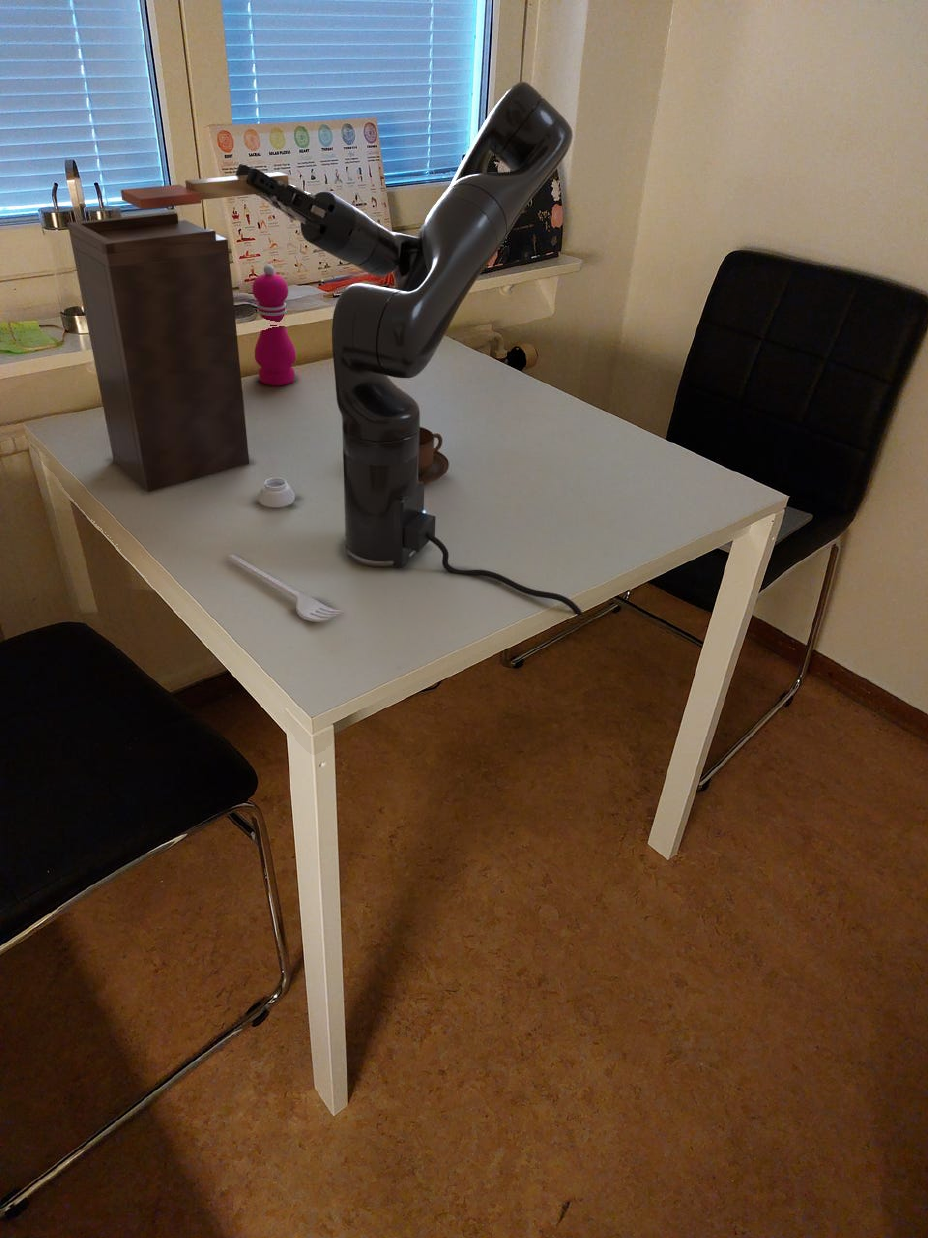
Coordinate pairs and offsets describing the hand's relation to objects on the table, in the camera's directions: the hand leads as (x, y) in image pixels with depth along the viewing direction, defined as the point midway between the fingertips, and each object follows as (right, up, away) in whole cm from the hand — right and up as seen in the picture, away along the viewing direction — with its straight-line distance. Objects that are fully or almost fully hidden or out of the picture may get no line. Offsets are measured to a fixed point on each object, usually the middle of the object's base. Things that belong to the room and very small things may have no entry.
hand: (244, 173), depth 119 cm
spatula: (-4, -4, -1) cm, 6 cm away
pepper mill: (-5, -16, +43) cm, 46 cm away
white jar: (+3, -43, +7) cm, 44 cm away
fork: (+7, -56, -11) cm, 58 cm away
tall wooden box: (-13, -36, +15) cm, 41 cm away
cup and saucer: (+21, -38, +16) cm, 46 cm away
